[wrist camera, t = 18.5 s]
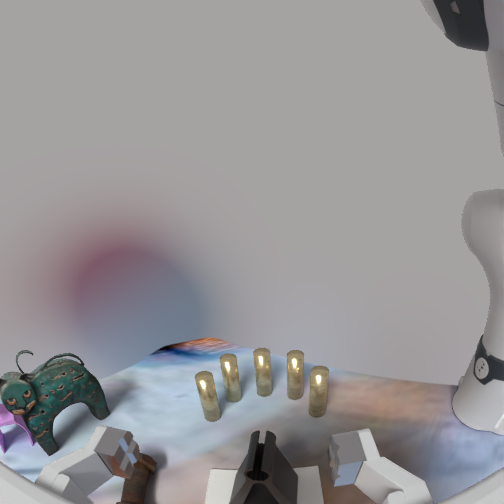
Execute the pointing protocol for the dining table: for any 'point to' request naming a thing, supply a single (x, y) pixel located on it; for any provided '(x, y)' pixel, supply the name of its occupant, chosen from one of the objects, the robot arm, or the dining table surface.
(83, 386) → the green animal figurine
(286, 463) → the phone stand
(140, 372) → the dining table surface
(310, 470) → the mat
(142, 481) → the bolt
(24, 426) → the toy chair
